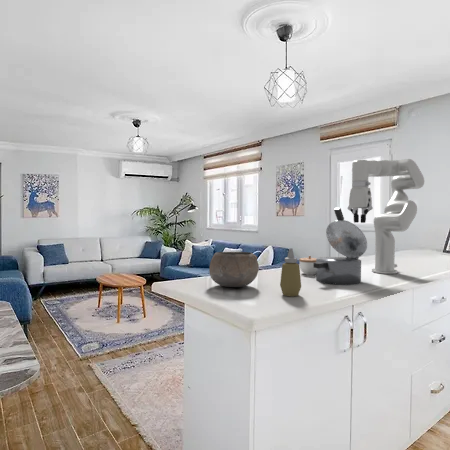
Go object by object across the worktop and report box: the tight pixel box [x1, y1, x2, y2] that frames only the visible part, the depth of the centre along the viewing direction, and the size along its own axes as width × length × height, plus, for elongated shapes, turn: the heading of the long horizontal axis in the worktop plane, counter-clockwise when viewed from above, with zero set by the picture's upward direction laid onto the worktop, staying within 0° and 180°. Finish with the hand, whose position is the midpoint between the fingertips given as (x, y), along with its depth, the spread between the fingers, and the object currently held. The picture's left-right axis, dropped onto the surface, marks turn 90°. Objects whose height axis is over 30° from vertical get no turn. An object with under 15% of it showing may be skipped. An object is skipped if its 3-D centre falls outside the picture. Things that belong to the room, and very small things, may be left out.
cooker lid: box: [325, 207, 368, 260], centre depth 170 cm, size 27×21×3 cm
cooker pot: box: [314, 256, 362, 286], centre depth 166 cm, size 26×20×10 cm
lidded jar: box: [298, 255, 316, 276], centre depth 187 cm, size 11×11×9 cm
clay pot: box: [208, 251, 260, 288], centre depth 153 cm, size 21×21×15 cm
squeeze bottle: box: [279, 248, 302, 297], centre depth 138 cm, size 8×8×18 cm
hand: (359, 222), depth 177 cm, fingers open, 3 cm apart
